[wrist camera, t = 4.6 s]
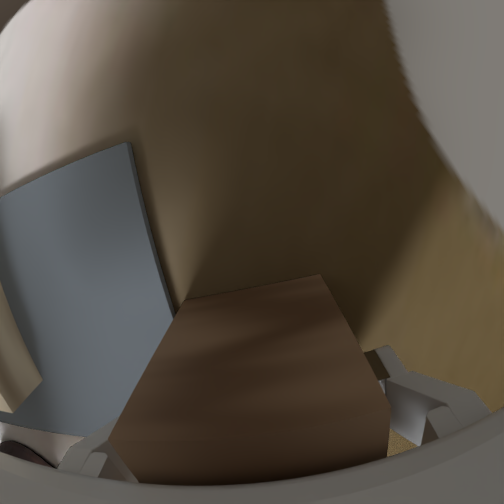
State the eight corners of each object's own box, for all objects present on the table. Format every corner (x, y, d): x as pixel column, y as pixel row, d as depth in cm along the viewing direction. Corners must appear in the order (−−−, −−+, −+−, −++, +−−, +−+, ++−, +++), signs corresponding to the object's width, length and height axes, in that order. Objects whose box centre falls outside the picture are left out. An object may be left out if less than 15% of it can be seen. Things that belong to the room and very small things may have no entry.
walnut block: (320, 273, 11) (390, 407, 4) (334, 383, 12) (375, 523, 5) (184, 300, 11) (107, 439, 5) (218, 402, 13) (194, 543, 6)
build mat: (130, 142, 10) (126, 141, 10) (220, 433, 13) (219, 438, 13) (-86, 254, 12) (-90, 255, 11) (-19, 413, 15) (-21, 415, 14)
